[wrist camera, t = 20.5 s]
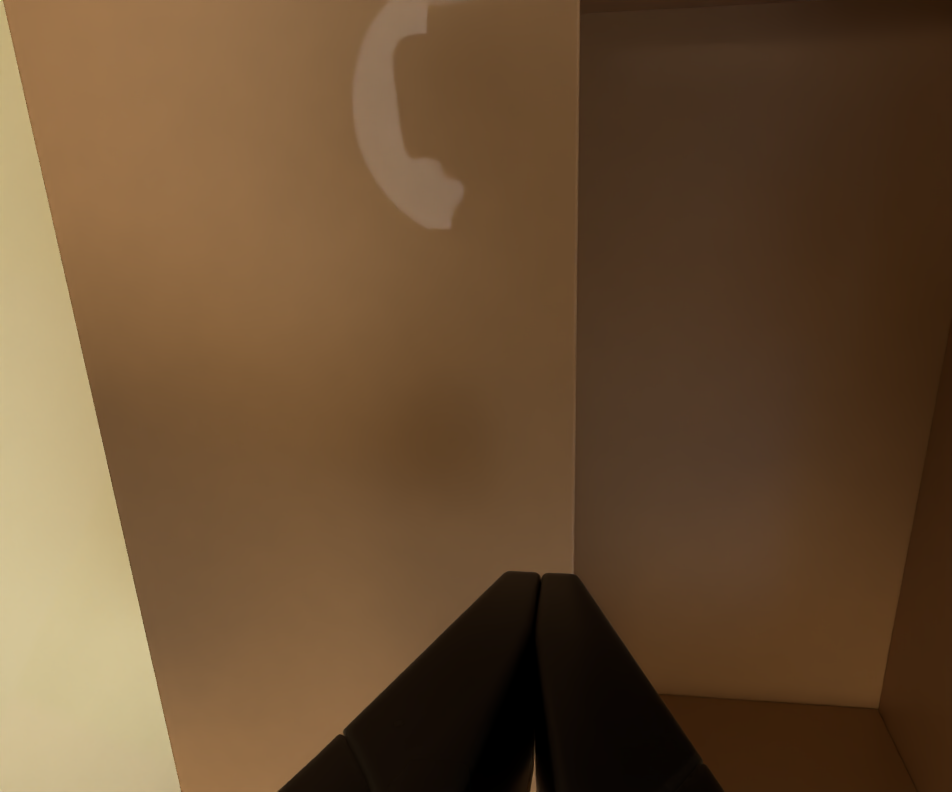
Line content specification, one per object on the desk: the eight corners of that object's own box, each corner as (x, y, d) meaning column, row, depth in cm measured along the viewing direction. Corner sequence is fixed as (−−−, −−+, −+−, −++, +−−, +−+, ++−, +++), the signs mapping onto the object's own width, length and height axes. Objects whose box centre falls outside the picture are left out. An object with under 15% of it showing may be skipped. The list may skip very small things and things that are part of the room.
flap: (570, 897, 13) (570, 915, 13) (207, 861, 14) (199, 877, 14) (581, -66, 8) (580, -71, 8) (12, -27, 9) (-7, -32, 9)
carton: (885, 710, 17) (991, 923, 13) (301, 670, 19) (213, 843, 14) (1026, -30, 12) (1289, -113, 7) (209, 17, 14) (28, -26, 9)
